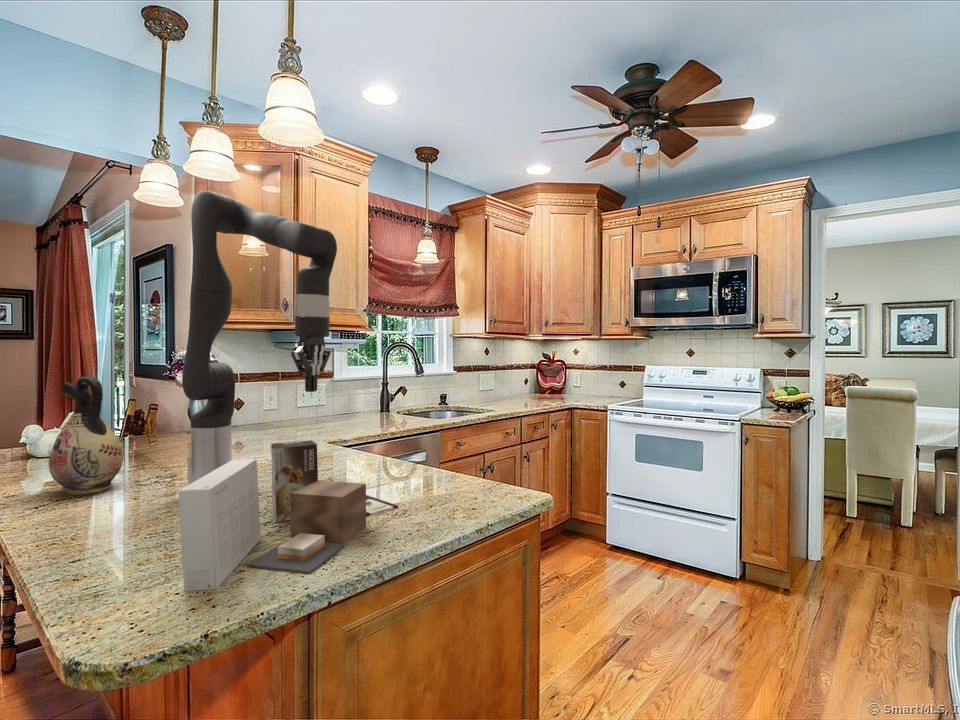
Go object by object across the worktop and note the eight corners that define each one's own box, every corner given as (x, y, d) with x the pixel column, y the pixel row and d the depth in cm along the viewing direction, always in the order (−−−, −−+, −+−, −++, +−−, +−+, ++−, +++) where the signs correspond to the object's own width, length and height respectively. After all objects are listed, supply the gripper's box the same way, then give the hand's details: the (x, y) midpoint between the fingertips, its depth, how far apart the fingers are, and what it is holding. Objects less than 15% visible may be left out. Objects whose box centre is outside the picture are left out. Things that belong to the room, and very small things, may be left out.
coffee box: (314, 508, 121) (313, 439, 120) (319, 516, 115) (318, 444, 115) (271, 514, 117) (270, 442, 116) (274, 523, 111) (274, 447, 110)
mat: (246, 566, 89) (246, 564, 89) (288, 541, 100) (288, 539, 100) (309, 573, 86) (309, 571, 86) (345, 546, 98) (345, 544, 98)
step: (291, 539, 101) (290, 493, 101) (318, 522, 111) (318, 480, 111) (342, 544, 99) (342, 497, 99) (366, 526, 109) (365, 483, 108)
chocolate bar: (354, 491, 134) (398, 505, 122) (354, 494, 134) (398, 509, 122) (322, 498, 127) (365, 514, 115) (322, 502, 127) (365, 518, 115)
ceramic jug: (34, 495, 131) (32, 376, 131) (99, 480, 146) (97, 373, 145) (78, 503, 125) (75, 377, 124) (141, 487, 139) (139, 374, 138)
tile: (300, 533, 98) (300, 543, 98) (277, 546, 91) (277, 558, 91) (324, 535, 97) (324, 546, 97) (303, 549, 90) (303, 560, 90)
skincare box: (232, 541, 101) (231, 459, 100) (261, 540, 101) (260, 458, 101) (178, 592, 80) (177, 488, 79) (215, 591, 80) (214, 488, 80)
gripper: (313, 316, 126) (312, 388, 127) (280, 313, 113) (278, 393, 114) (342, 317, 124) (340, 390, 125) (311, 314, 111) (309, 395, 112)
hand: (311, 391), depth 119 cm, fingers closed
